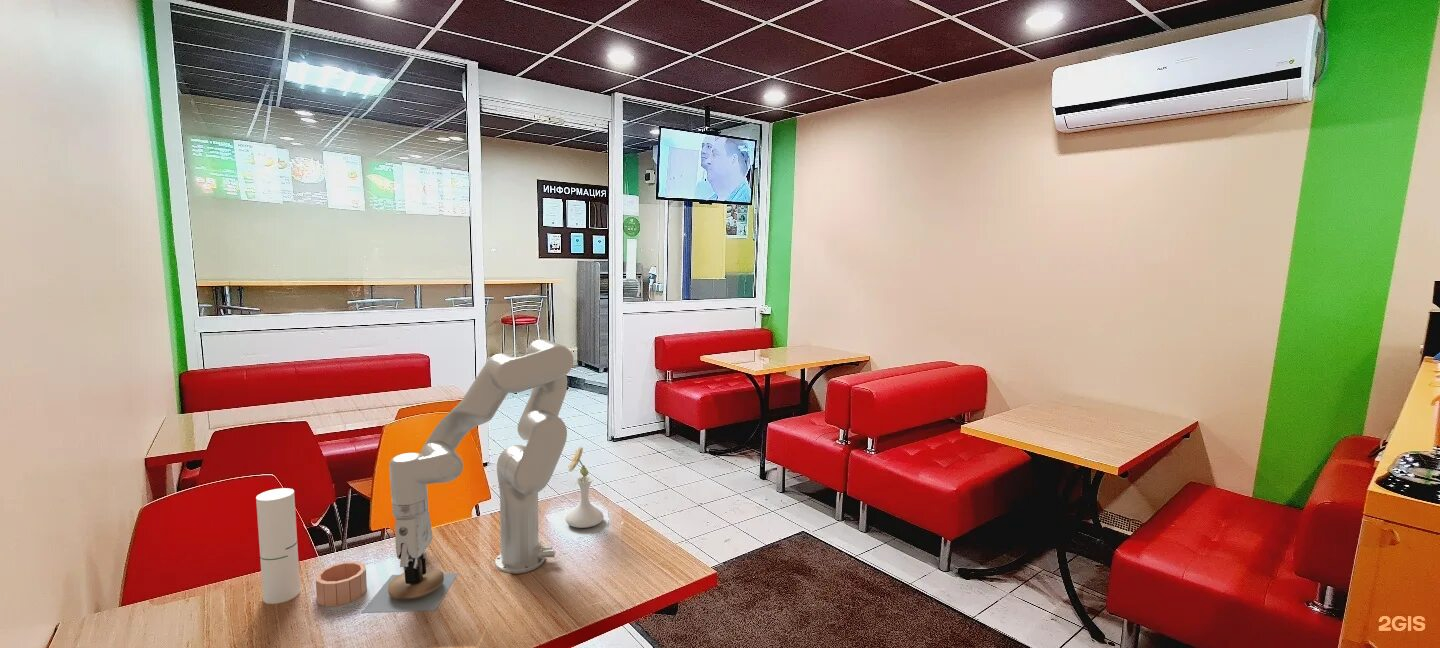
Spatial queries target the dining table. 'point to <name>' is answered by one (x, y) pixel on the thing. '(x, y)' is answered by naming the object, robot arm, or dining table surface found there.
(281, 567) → the cylindrical container
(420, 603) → the mat
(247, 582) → the dining table surface
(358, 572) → the bowl
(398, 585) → the lid
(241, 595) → the dining table surface
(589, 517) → the flower in vase
